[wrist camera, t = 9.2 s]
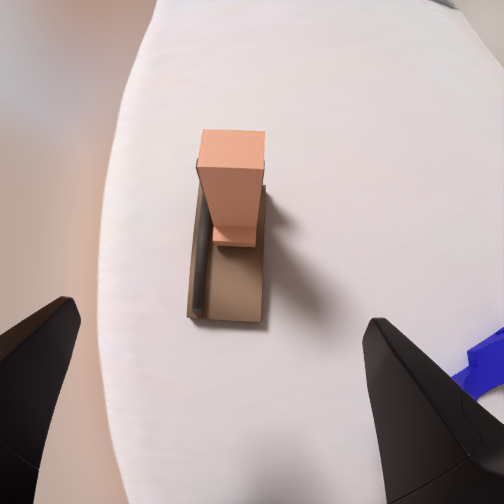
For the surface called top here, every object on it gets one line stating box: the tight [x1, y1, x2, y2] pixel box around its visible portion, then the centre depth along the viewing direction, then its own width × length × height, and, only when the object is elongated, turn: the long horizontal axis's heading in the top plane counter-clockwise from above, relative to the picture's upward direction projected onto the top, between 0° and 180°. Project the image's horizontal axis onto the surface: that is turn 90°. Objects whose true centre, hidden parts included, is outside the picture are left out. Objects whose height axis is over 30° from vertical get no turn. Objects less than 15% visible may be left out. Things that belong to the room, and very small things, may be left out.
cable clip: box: [451, 327, 504, 401], centre depth 17 cm, size 12×4×6 cm, turn 104°
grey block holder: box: [187, 158, 266, 322], centre depth 20 cm, size 10×5×4 cm, turn 177°
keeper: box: [197, 130, 265, 247], centre depth 17 cm, size 4×3×9 cm
